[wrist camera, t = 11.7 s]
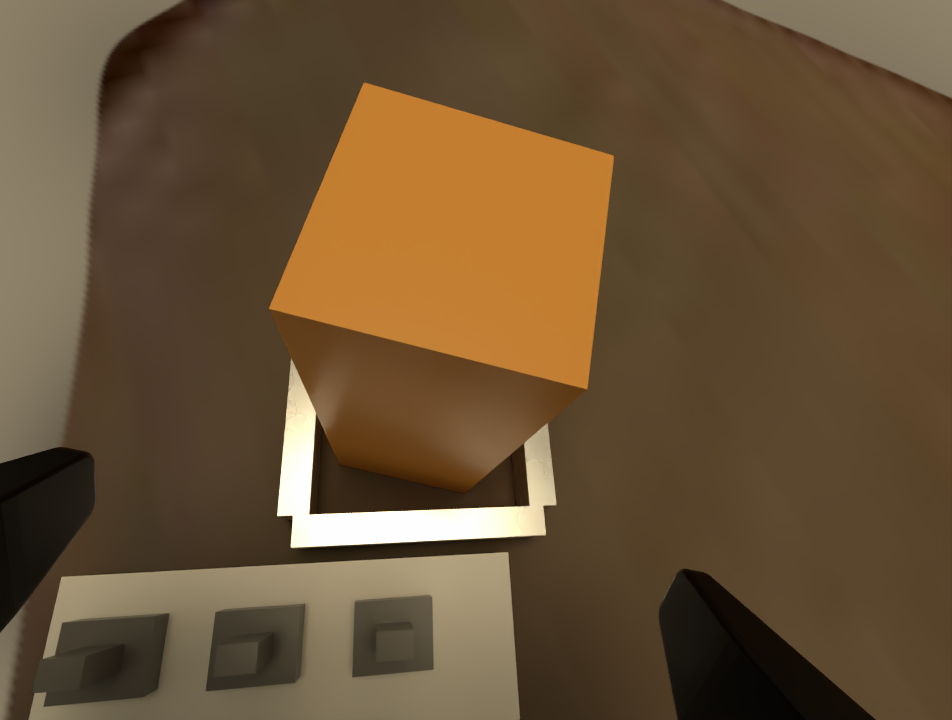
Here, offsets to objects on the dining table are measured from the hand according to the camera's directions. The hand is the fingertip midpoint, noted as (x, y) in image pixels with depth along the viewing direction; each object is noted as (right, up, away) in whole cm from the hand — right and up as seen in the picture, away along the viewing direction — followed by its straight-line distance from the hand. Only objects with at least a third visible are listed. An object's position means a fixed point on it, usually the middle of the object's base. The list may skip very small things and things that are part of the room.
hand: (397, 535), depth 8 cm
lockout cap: (-1, 0, +13) cm, 13 cm away
